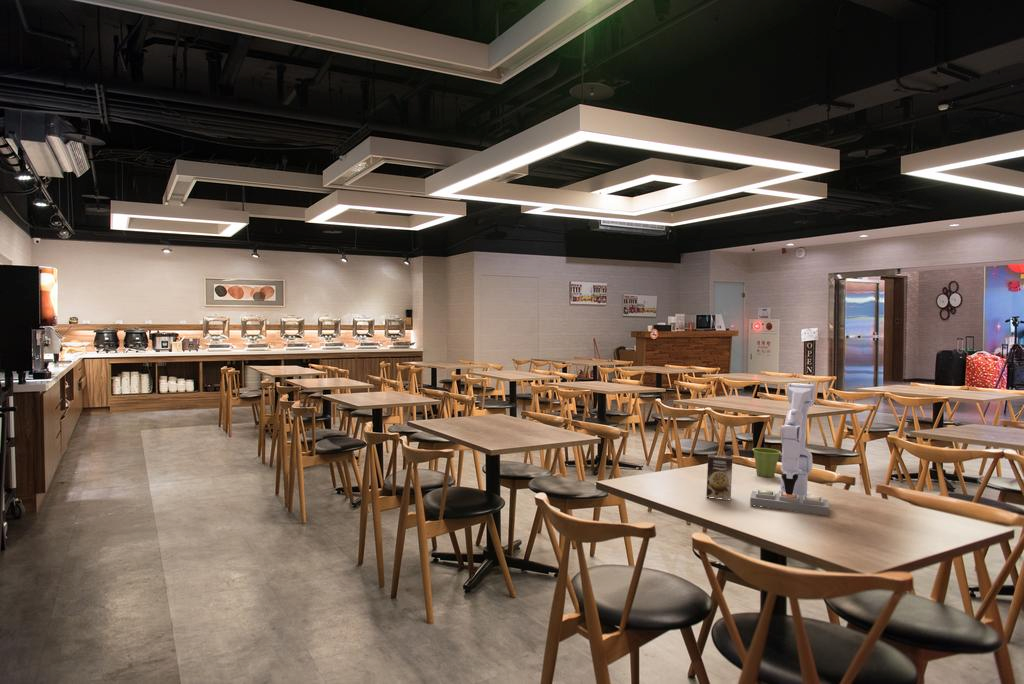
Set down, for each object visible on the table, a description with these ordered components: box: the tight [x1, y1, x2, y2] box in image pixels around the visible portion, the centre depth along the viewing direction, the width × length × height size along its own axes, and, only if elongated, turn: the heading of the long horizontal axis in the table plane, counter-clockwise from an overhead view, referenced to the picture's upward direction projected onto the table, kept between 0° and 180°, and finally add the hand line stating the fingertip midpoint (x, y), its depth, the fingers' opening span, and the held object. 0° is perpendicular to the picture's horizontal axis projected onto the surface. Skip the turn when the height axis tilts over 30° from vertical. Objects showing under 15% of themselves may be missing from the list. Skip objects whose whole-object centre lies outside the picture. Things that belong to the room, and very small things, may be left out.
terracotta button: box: [782, 492, 796, 498], centre depth 234 cm, size 4×4×2 cm
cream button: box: [806, 494, 821, 501], centre depth 231 cm, size 4×4×2 cm
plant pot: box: [751, 447, 782, 478], centre depth 282 cm, size 12×12×11 cm
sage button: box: [758, 489, 773, 495], centre depth 238 cm, size 4×4×2 cm
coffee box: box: [705, 453, 733, 500], centre depth 245 cm, size 9×6×16 cm
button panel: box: [749, 489, 830, 517], centre depth 234 cm, size 26×11×4 cm, turn 66°
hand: (789, 494), depth 234 cm, fingers closed, pressing on terracotta button
